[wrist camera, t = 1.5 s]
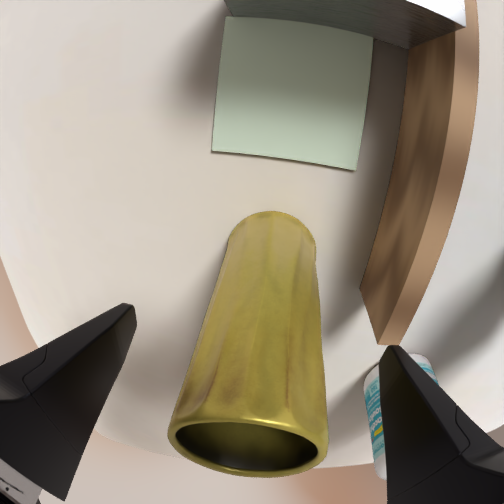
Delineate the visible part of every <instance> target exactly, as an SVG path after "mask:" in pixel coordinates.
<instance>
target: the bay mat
mask: <svg viewBox="0 0 504 504" xmlns="http://www.w3.org/2000/svg"><path fill="white" fill-rule="evenodd" d="M372 50H373V37H370V36H367V35H363V34H359V33H355V32H351V31H347V30H342V29H338V28H333V27H328V26H322V25H316V24H310V23H304V22H296V21H288V20H279V19H268V18H252V17H233V16H226V18H225V25H224V32H223V40H222V48H221V57H220V66H219V75H218V84H217V95H216V105H215V116H214V128H213V141H212V151H223V152H234V153H244V154H253V155H261V156H269V157H277V158H284V159H291V160H298V161H305V162H311V163H317V164H323V165H328V166H334V167H339V168H345V169H350V170H355V171H356V167H357V162H358V156H359V150H360V144H361V138H362V132H363V126H364V119H365V112H366V105H367V97H368V89H369V81H370V71H371V61H372Z"/></svg>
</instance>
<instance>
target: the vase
mask: <svg viewBox="0 0 504 504" xmlns="http://www.w3.org/2000/svg"><path fill="white" fill-rule="evenodd" d="M315 261H316V245H315V241H314V238H313V236H312V234H311V233H310V231H309V230H308V229H307V228H306V227H305V226H304V224H303V223H302V222H300V221H299V220H298V219H296V218H295V217H293V216H291V215H288V214H285V213H282V212H276V211H266V212H260V213H256V214H253V215H251V216H248V217H247V218H245V219H244V220H242V221H241V222H240V223H239V224H238V225H237V226H236V227H235V228H234V230H233V231H232V233H231V235H230V237H229V240H228V246H227V251H226V254H225V258H224V261H223V263H222V266H221V270H220V273H219V276H218V279H217V283H216V286H215V289H214V292H213V295H212V298H211V300H210V303H209V306H208V309H207V312H206V315H205V318H204V321H203V325H202V328H201V331H200V334H199V337H198V340H197V344H196V347H195V350H194V353H193V356H192V359H191V362H190V365H189V368H188V371H187V374H186V377H185V380H184V383H183V386H182V389H181V391H180V394H179V397H178V400H177V403H176V406H175V409H174V411H173V415H172V418H171V421H170V424H169V427H168V435H167V436H168V439H169V441H170V443H171V445H172V446H173V447H174V448H175V450H176V451H177V452H178V453H180V454H181V455H182V456H184V457H185V458H187V459H189V460H191V461H193V462H195V463H197V464H199V465H202V466H204V467H207V468H210V469H212V470H215V471H219V472H223V473H227V474H231V475H237V476H244V477H263V478H272V477H284V476H289V475H294V474H298V473H302V472H305V471H307V470H309V469H311V468H313V467H315V466H316V465H318V464H319V463H321V462H322V461H323V460H324V458H325V457H326V455H327V449H328V443H329V436H328V419H327V407H326V388H325V374H324V363H323V355H322V342H321V315H320V300H319V289H318V279H317V273H316V265H315Z"/></svg>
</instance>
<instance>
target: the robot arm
mask: <svg viewBox="0 0 504 504" xmlns="http://www.w3.org/2000/svg"><path fill="white" fill-rule="evenodd" d="M136 327H137V320H136V314H135V308H134V306H133V305H131V304H127V303H122V304H120V305H118V306H116V307H114V308H112V309H110V310H108V311H106V312H105V313H103V314H101V315H99V316H97V317H95V318H93V319H91V320H90V321H88V322H86V323H84V324H82V325H80V326H78V327H77V328H75V329H73V330H71V331H69V332H67V333H66V334H64V335H62V336H60V337H58V338H56V339H55V340H53V341H51V342H49V343H48V344H45V345H44V346H42V347H40V348H38V349H36V350H34V351H32V352H30V353H28V354H26V355H25V356H22V357H20V358H18V359H15V360H13V361H11V362H8V363H6V364H4V365H1V366H0V504H41V503H40V501H39V499H38V497H39V495H40V493H41V490H42V489H44V490H45V491H47V492H49V493H50V494H52V495H54V496H55V497H57V498H59V499H61V500H62V501H65V499H66V497H67V494H68V491H69V488H70V486H71V483H72V480H73V478H74V475H75V472H76V470H77V468H78V465H79V462H80V460H81V457H82V455H83V452H84V450H85V447H86V445H87V442H88V440H89V438H90V435H91V433H92V431H93V428H94V426H95V424H96V422H97V419H98V417H99V415H100V413H101V410H102V408H103V406H104V404H105V402H106V399H107V397H108V395H109V393H110V391H111V389H112V386H113V384H114V382H115V380H116V378H117V376H118V374H119V372H120V370H121V368H122V365H123V363H124V361H125V358H126V355H127V352H128V350H129V347H130V344H131V341H132V339H133V336H134V333H135V330H136ZM379 391H380V408H381V416H382V425H383V435H384V446H385V459H386V476H387V500H388V501H387V504H504V448H503V447H501V446H500V445H498V444H497V443H496V442H495V441H494V440H493V439H492V438H491V437H489V436H488V435H487V434H486V433H485V432H484V431H483V430H482V429H481V428H480V427H479V426H478V425H476V424H475V423H474V422H473V421H472V420H471V419H470V418H469V417H468V416H467V415H466V414H465V413H464V412H463V411H462V409H461V408H460V407H459V406H458V405H457V404H456V403H455V402H454V401H453V400H452V399H451V398H450V397H449V396H448V395H447V394H446V392H445V391H444V390H443V389H442V388H441V387H440V386H439V385H438V384H437V383H436V382H435V381H434V380H433V379H432V378H431V377H430V376H429V375H428V374H427V373H426V372H425V371H424V370H423V369H422V368H421V367H420V366H419V365H418V364H417V363H416V362H415V361H414V360H413V358H412V357H411V356H410V355H409V354H408V353H407V352H406V351H405V350H404V349H403V348H402V347H400V346H399V345H389V346H388V347H387V348H386V350H385V352H384V354H383V355H382V357H381V359H380V361H379ZM456 405H457V406H456Z"/></svg>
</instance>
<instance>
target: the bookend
mask: <svg viewBox="0 0 504 504" xmlns="http://www.w3.org/2000/svg"><path fill="white" fill-rule="evenodd" d="M224 1H225V3H226V5H227V6H228V8H229V10H230V11H231V13H232V15H233V17H252V18H268V19H279V20H288V21H296V22H304V23H310V24H316V25H322V26H328V27H333V28H338V29H342V30H347V31H351V32H355V33H359V34H363V35H367V36H370V37H373V38H374V39H378V40H381V41H384V42H388V43H391V44H394V45H397V46H400V47H403V48H406V49H408V50H409V49H411V48H414V47H416V46H418V45H421V44H423V43H426V42H428V41H430V40H433V39H436V38H438V37H441V36H443V35H446V34H449V33H451V32H454V31H457V30H460V29H463V28H466V16H465V3H464V0H224Z"/></svg>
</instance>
